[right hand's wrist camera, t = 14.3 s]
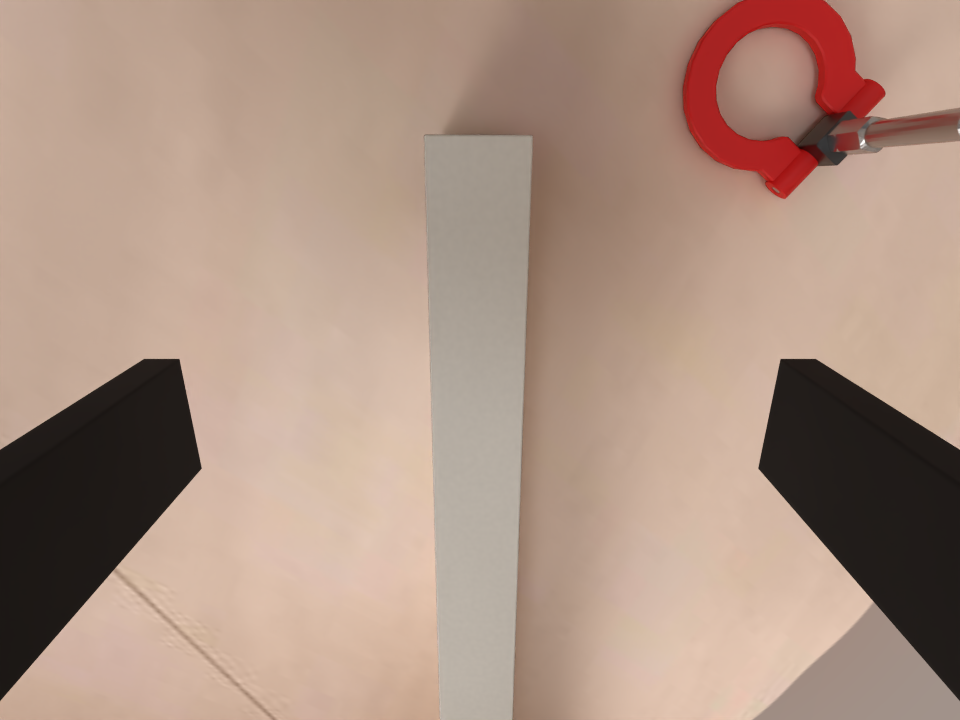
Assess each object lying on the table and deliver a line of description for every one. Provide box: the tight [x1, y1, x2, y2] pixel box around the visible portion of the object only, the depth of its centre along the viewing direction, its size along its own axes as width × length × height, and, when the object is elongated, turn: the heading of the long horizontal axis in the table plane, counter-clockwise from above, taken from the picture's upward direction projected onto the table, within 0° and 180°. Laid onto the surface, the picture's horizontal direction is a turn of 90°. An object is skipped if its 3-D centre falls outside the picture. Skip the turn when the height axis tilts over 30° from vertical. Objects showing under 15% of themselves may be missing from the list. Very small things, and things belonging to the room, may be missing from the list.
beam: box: [424, 135, 533, 720], centre depth 36 cm, size 54×4×8 cm, turn 0°
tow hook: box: [683, 0, 960, 199], centre depth 24 cm, size 8×13×9 cm
